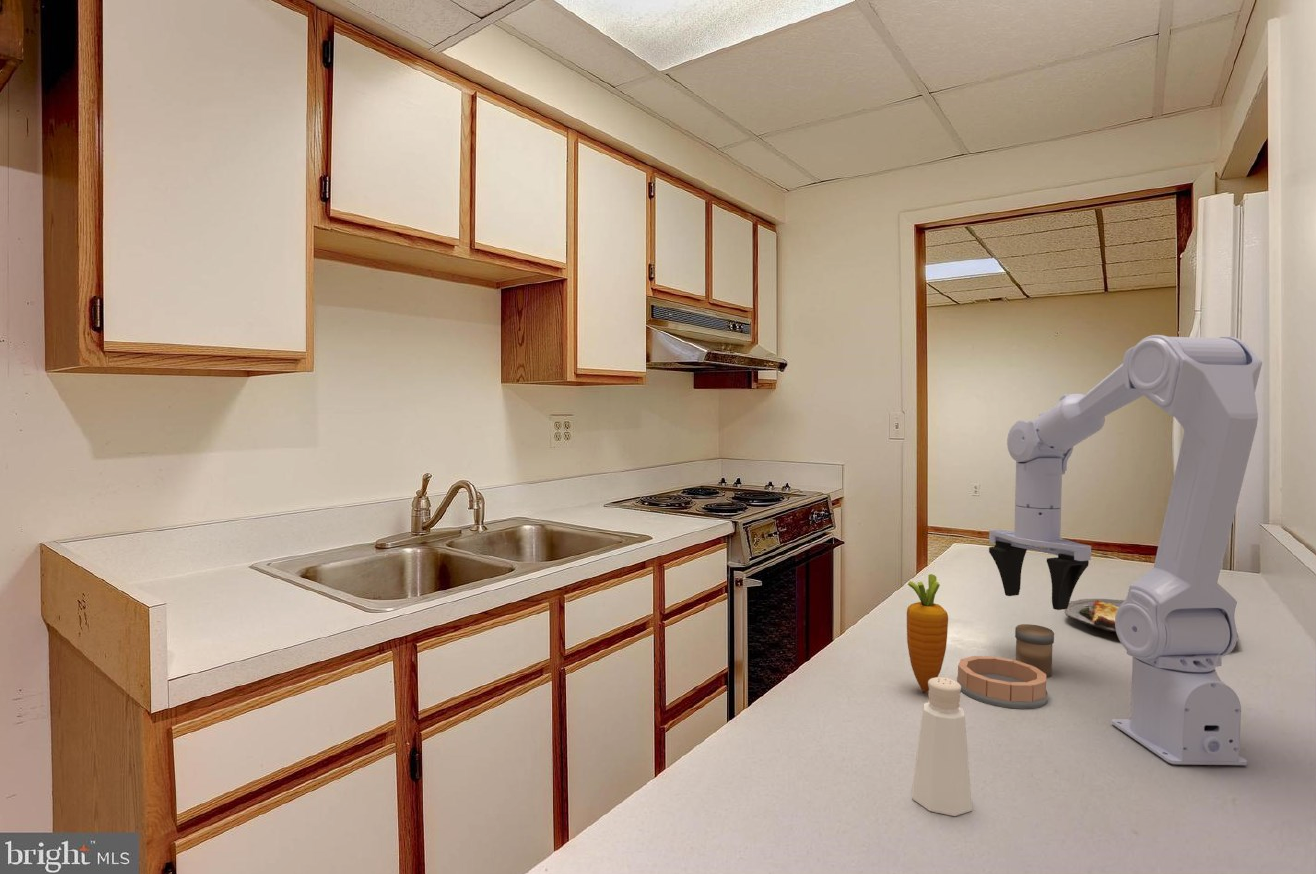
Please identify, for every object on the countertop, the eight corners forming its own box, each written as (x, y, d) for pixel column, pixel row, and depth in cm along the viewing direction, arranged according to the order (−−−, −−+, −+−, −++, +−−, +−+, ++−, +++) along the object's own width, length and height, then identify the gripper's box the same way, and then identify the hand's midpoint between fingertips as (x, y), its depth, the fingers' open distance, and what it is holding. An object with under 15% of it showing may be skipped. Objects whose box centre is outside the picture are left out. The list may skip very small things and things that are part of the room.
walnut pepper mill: (1060, 678, 92) (1061, 634, 92) (1025, 678, 92) (1026, 634, 92) (1040, 665, 97) (1042, 624, 97) (1007, 665, 97) (1008, 623, 97)
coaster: (1065, 709, 83) (1066, 686, 83) (979, 708, 83) (980, 685, 83) (1019, 676, 93) (1020, 656, 93) (943, 675, 93) (944, 655, 93)
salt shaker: (956, 783, 66) (959, 670, 65) (985, 817, 60) (988, 693, 60) (900, 784, 65) (903, 670, 65) (924, 817, 60) (928, 693, 60)
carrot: (920, 702, 84) (923, 581, 84) (896, 686, 89) (899, 572, 88) (955, 698, 86) (958, 579, 85) (929, 683, 90) (932, 570, 90)
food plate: (1243, 666, 98) (1244, 641, 98) (1056, 634, 112) (1057, 613, 112) (1232, 628, 118) (1232, 607, 118) (1074, 605, 132) (1075, 587, 132)
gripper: (1107, 511, 92) (1104, 612, 92) (1013, 499, 105) (1011, 587, 105) (1071, 514, 89) (1068, 617, 89) (979, 501, 102) (977, 591, 102)
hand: (1035, 601), depth 97 cm, fingers open, 7 cm apart
